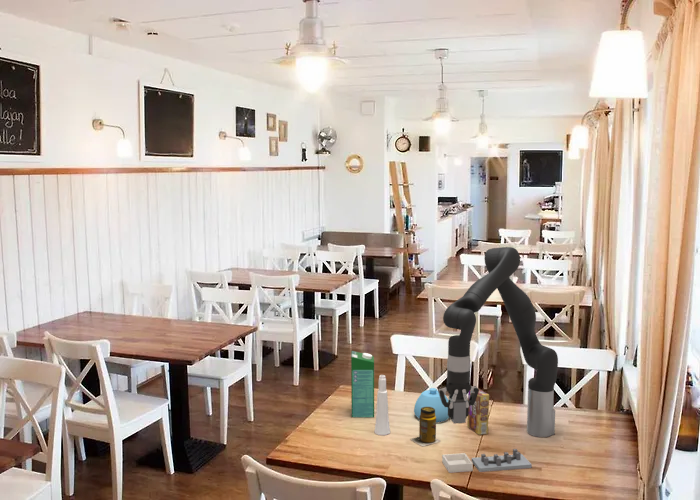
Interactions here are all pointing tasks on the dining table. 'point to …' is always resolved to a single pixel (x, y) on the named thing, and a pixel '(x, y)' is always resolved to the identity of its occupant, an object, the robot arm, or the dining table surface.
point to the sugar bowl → (432, 404)
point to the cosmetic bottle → (382, 409)
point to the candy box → (479, 413)
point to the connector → (459, 411)
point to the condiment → (427, 427)
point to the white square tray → (457, 462)
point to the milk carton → (362, 384)
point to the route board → (501, 462)
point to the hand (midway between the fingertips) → (457, 417)
